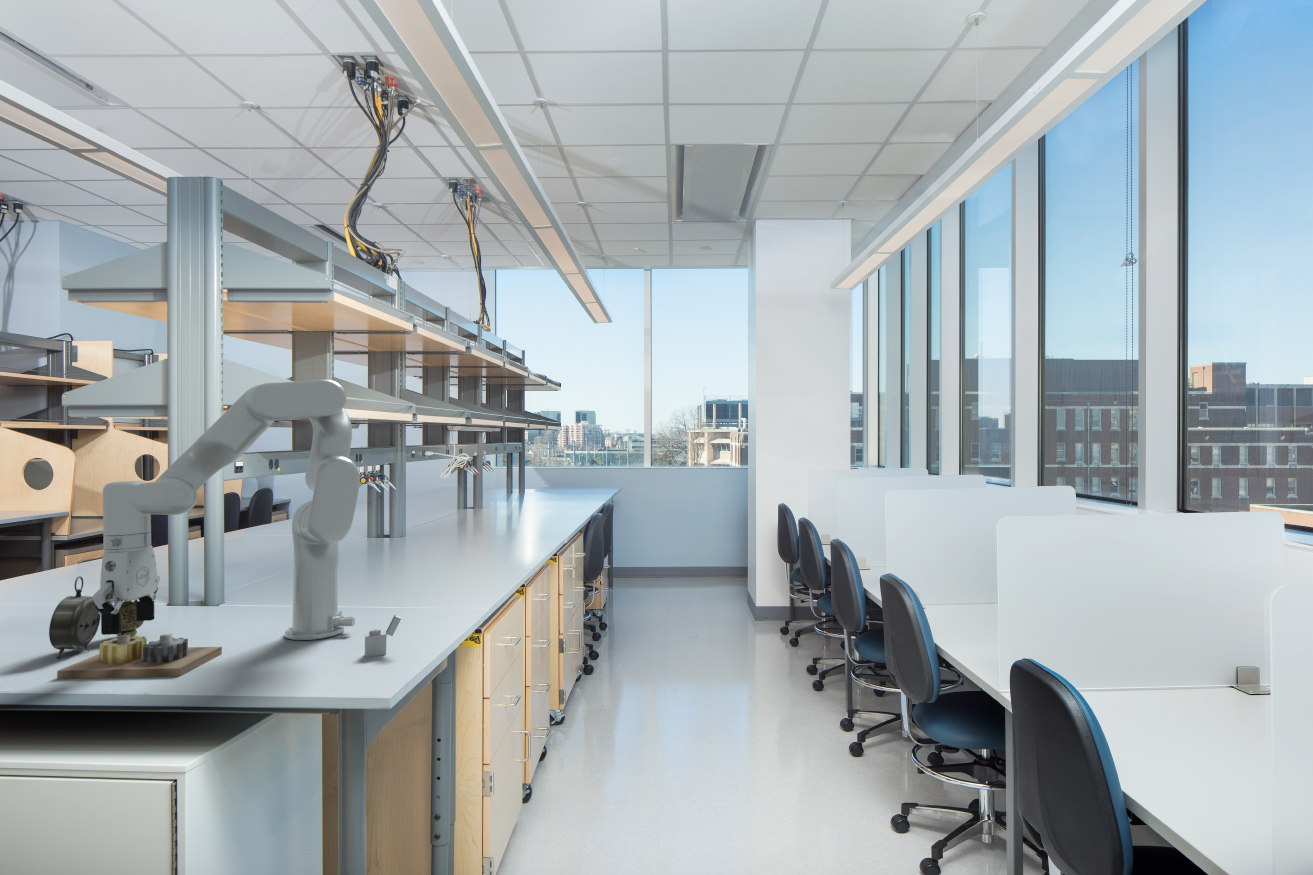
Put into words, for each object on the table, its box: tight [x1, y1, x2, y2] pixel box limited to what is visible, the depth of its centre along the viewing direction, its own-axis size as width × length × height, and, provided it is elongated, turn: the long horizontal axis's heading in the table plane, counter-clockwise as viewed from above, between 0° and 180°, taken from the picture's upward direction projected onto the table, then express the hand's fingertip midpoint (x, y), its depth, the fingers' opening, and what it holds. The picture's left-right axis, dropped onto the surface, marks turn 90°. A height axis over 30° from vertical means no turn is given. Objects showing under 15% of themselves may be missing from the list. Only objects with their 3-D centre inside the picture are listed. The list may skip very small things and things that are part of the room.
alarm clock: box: [48, 575, 101, 660], centre depth 141 cm, size 11×5×16 cm, turn 16°
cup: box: [110, 599, 145, 637], centre depth 153 cm, size 8×7×8 cm
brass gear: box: [98, 635, 147, 664], centre depth 132 cm, size 7×7×4 cm
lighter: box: [364, 614, 402, 658], centre depth 141 cm, size 7×2×8 cm, turn 118°
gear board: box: [56, 633, 223, 680], centre depth 132 cm, size 22×14×6 cm, turn 95°
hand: (128, 626), depth 133 cm, fingers open, 9 cm apart
